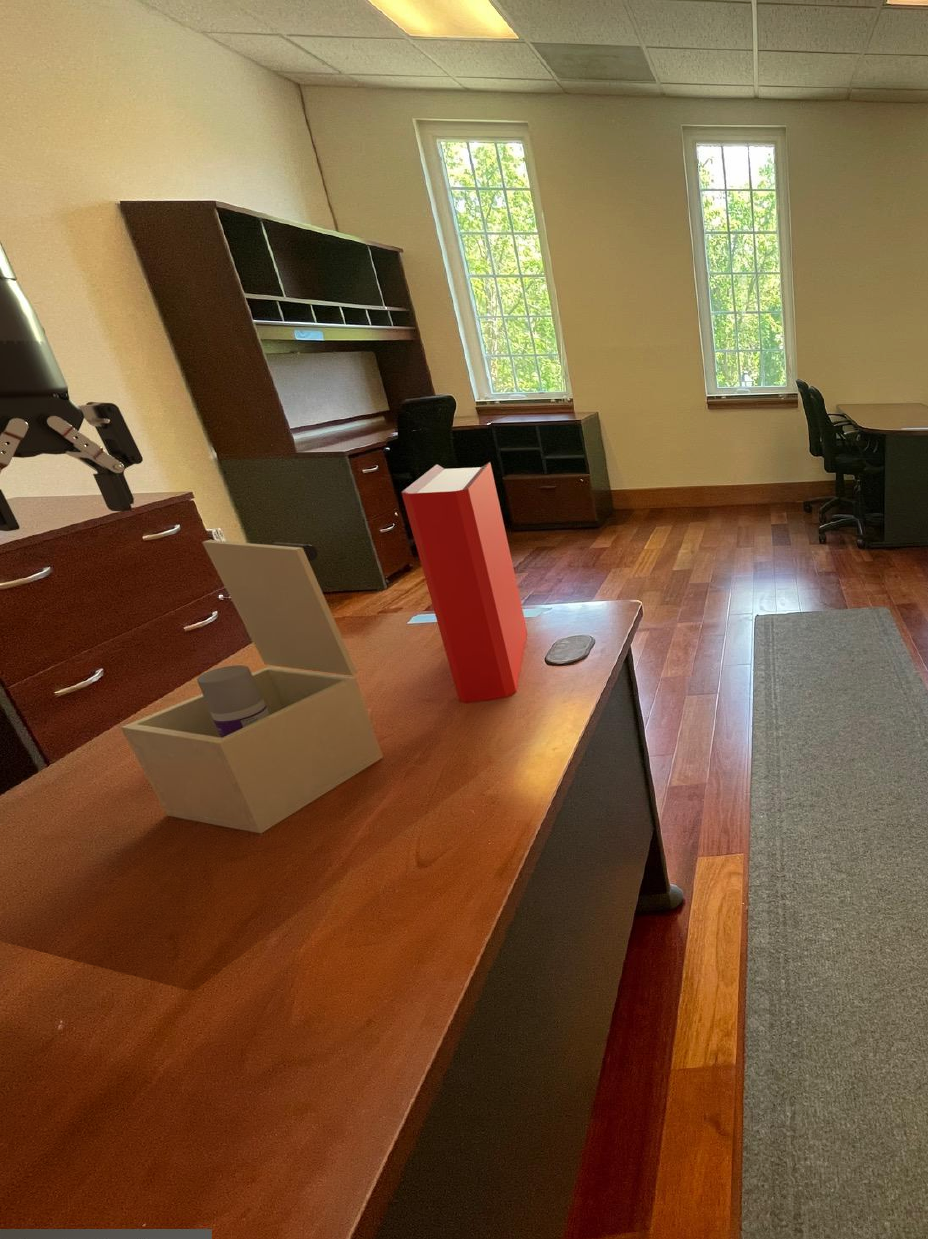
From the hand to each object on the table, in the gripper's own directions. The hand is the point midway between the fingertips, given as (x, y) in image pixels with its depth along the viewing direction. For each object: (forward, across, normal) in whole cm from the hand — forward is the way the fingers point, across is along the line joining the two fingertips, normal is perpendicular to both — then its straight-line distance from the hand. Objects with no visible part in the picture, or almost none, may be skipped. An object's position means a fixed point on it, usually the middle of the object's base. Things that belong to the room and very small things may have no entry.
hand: (67, 519), depth 64 cm
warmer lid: (+14, -12, +4) cm, 19 cm away
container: (+34, -5, +5) cm, 34 cm away
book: (+34, -42, +6) cm, 54 cm away
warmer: (+34, -6, +5) cm, 35 cm away
